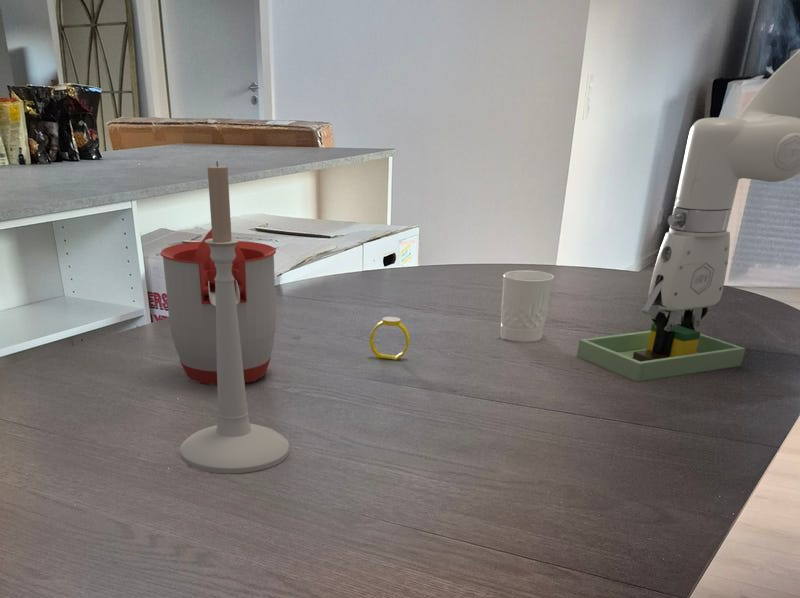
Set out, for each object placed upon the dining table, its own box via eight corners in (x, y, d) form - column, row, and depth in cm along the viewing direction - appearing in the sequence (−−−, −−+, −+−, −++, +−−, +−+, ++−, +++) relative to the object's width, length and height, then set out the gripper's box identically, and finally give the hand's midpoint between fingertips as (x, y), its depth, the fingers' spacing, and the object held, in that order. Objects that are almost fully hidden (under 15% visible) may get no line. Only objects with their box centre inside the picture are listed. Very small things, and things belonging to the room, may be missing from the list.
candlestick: (300, 436, 104) (296, 156, 87) (272, 478, 93) (261, 169, 77) (202, 428, 106) (179, 154, 89) (164, 468, 96) (129, 166, 79)
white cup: (491, 343, 138) (499, 278, 133) (501, 331, 144) (508, 268, 139) (540, 348, 136) (549, 282, 130) (548, 336, 142) (557, 272, 136)
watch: (367, 359, 131) (369, 319, 127) (371, 354, 133) (372, 315, 130) (406, 362, 130) (408, 322, 126) (409, 357, 132) (411, 317, 129)
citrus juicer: (173, 398, 116) (157, 239, 104) (172, 362, 130) (157, 218, 118) (287, 392, 118) (283, 235, 106) (273, 357, 132) (268, 215, 120)
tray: (675, 346, 137) (679, 326, 135) (739, 369, 127) (745, 348, 125) (575, 360, 131) (579, 339, 129) (635, 385, 120) (639, 363, 118)
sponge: (661, 348, 132) (667, 321, 130) (694, 359, 126) (700, 332, 124) (646, 350, 131) (651, 323, 129) (678, 362, 125) (684, 334, 123)
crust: (647, 357, 130) (649, 349, 129) (666, 364, 127) (667, 356, 126) (632, 359, 129) (633, 351, 128) (650, 366, 126) (651, 358, 125)
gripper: (672, 229, 113) (643, 368, 123) (764, 221, 118) (729, 355, 128) (634, 221, 119) (610, 354, 129) (724, 214, 124) (694, 342, 134)
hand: (670, 353), depth 128 cm, fingers closed on sponge, 3 cm apart
